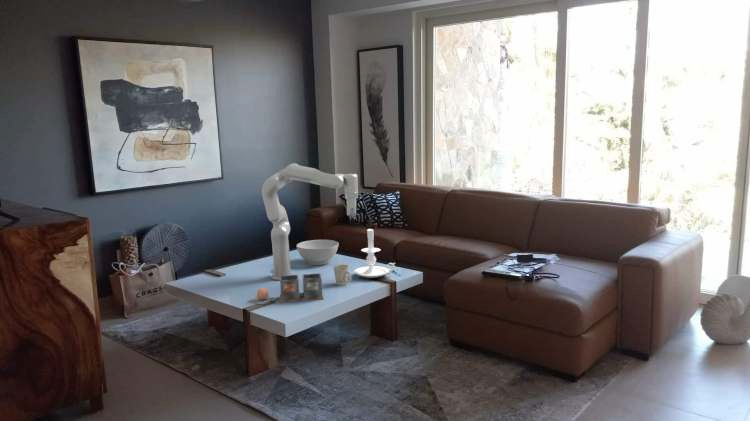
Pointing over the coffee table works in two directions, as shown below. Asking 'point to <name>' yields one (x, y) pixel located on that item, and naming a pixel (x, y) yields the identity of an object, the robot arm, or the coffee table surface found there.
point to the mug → (342, 274)
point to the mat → (262, 300)
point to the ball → (262, 293)
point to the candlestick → (372, 261)
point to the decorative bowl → (317, 251)
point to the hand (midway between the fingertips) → (352, 225)
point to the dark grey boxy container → (310, 288)
